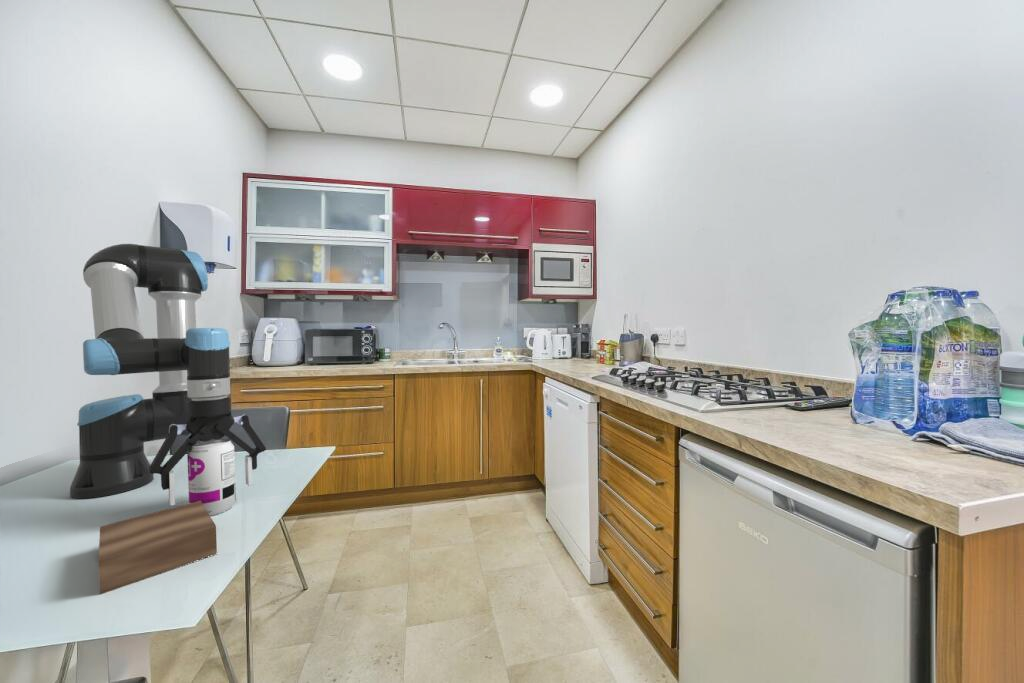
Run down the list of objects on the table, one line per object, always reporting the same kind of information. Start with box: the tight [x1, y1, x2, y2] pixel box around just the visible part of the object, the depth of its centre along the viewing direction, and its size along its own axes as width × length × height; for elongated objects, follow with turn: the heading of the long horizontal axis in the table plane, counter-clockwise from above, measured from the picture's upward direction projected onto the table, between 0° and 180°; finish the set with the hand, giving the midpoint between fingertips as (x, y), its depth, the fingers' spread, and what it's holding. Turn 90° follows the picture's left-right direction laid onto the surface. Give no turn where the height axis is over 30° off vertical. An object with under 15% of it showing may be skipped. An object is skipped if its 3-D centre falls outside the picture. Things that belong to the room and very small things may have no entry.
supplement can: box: [186, 438, 237, 517], centre depth 85 cm, size 8×8×15 cm
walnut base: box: [98, 501, 218, 595], centre depth 68 cm, size 16×14×5 cm
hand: (212, 493), depth 85 cm, fingers open, 13 cm apart
